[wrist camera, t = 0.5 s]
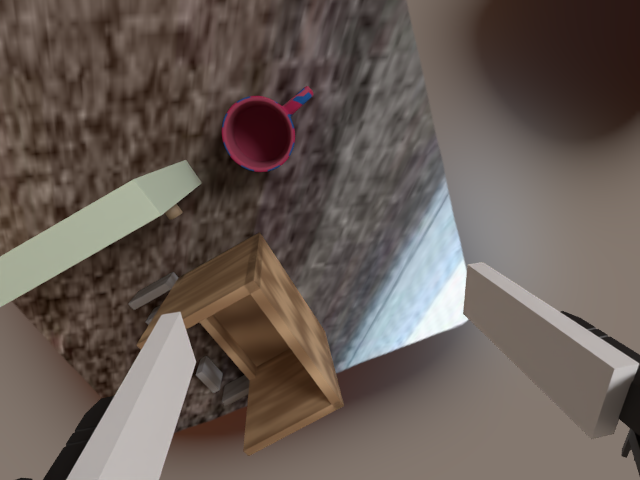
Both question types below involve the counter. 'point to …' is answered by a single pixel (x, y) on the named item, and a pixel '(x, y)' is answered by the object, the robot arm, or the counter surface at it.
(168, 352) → the robot arm
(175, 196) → the door
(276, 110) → the mug
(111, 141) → the counter surface
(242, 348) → the carcass
